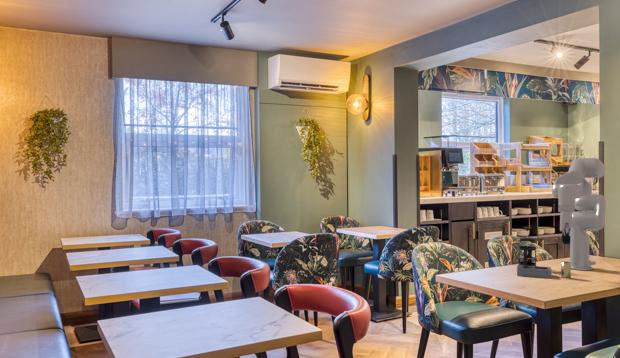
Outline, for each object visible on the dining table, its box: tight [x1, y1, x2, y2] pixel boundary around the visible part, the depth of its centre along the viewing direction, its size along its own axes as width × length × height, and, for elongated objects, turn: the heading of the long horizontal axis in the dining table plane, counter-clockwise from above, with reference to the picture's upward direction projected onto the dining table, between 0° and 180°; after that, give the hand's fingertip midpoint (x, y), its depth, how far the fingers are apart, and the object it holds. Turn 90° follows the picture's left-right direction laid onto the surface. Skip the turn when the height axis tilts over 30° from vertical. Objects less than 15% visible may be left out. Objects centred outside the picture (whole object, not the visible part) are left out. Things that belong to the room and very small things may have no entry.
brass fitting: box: [560, 260, 572, 279], centre depth 262 cm, size 4×4×8 cm
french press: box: [518, 226, 537, 266], centre depth 287 cm, size 12×9×23 cm
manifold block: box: [516, 264, 552, 279], centre depth 268 cm, size 16×10×4 cm, turn 67°
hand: (566, 242), depth 262 cm, fingers open, 9 cm apart
